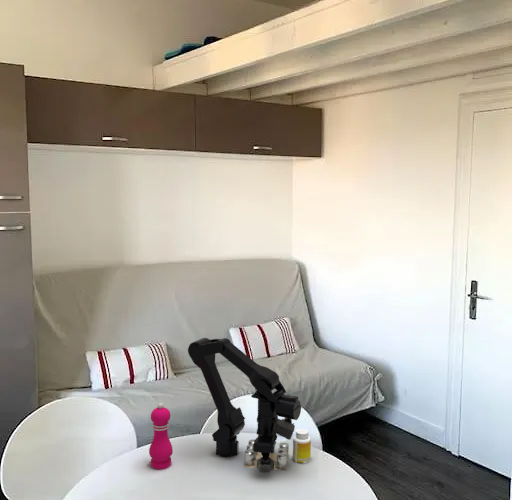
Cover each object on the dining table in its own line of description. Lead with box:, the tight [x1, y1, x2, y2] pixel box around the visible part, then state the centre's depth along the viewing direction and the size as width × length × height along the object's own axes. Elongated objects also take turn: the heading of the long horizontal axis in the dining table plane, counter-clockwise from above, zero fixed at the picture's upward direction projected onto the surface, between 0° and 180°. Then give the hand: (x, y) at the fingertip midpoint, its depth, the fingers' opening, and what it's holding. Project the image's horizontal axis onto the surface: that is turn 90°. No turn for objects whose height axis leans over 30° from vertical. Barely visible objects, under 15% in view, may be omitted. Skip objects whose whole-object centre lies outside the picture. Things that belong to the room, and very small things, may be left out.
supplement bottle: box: [292, 428, 312, 464], centre depth 182 cm, size 6×6×10 cm
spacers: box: [244, 439, 290, 471], centre depth 181 cm, size 13×10×4 cm
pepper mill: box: [148, 402, 174, 470], centre depth 179 cm, size 7×7×20 cm
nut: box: [256, 457, 274, 474], centre depth 176 cm, size 5×4×3 cm
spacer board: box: [243, 452, 287, 472], centre depth 179 cm, size 13×14×1 cm
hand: (266, 460), depth 179 cm, fingers closed
